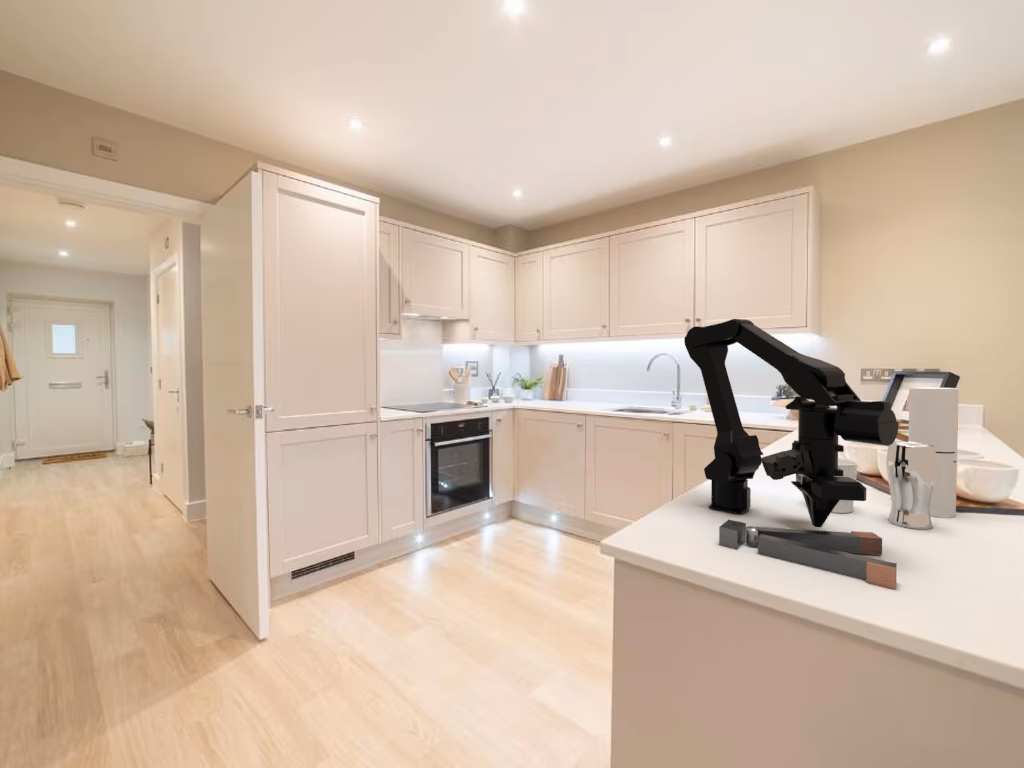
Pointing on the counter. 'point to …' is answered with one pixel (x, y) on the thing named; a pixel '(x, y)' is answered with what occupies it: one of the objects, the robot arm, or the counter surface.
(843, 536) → the bar
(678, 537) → the counter surface
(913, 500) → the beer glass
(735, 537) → the base
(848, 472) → the white cup
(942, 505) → the beige tall box
